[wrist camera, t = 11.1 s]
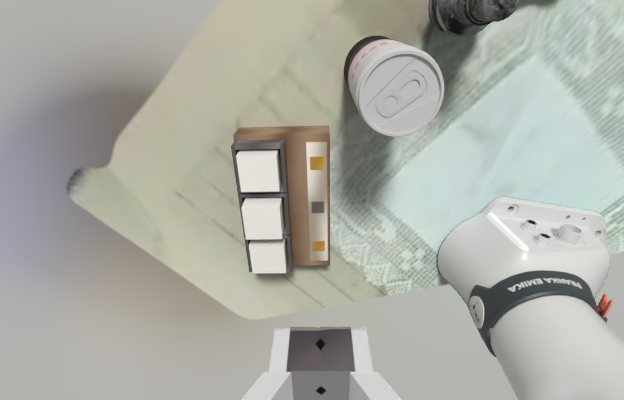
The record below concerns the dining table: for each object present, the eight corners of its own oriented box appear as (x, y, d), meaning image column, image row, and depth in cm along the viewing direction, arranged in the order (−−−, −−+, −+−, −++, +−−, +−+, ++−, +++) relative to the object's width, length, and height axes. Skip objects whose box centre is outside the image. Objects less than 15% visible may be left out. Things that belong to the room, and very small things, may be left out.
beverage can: (413, 73, 39) (462, 104, 25) (365, 109, 41) (386, 154, 27) (382, 21, 36) (418, 26, 23) (332, 62, 38) (339, 87, 25)
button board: (328, 125, 42) (329, 139, 37) (329, 252, 51) (330, 274, 46) (238, 127, 42) (229, 141, 38) (255, 252, 51) (249, 275, 47)
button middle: (281, 197, 41) (279, 207, 39) (284, 227, 43) (282, 239, 41) (245, 197, 42) (241, 207, 39) (249, 228, 44) (245, 239, 41)
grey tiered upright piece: (486, -36, 34) (563, -58, 23) (482, 30, 36) (548, 37, 26) (425, -25, 34) (472, -42, 24) (425, 39, 37) (467, 50, 26)
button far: (285, 234, 45) (283, 245, 43) (287, 261, 47) (286, 273, 45) (252, 234, 45) (248, 246, 43) (255, 261, 47) (252, 273, 45)
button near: (278, 147, 39) (276, 155, 37) (281, 181, 41) (279, 191, 39) (240, 147, 39) (236, 155, 37) (245, 182, 42) (241, 192, 39)
